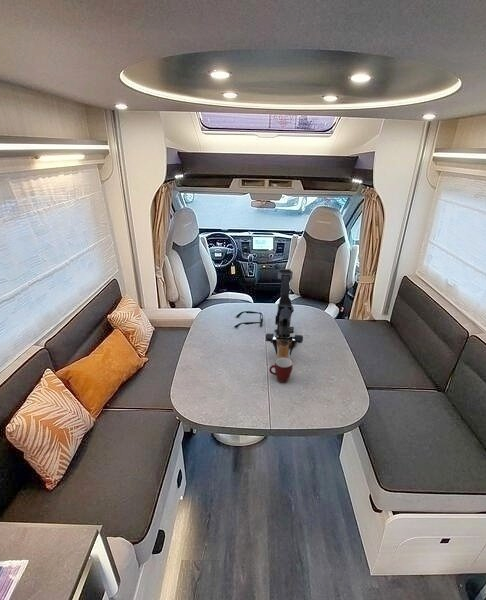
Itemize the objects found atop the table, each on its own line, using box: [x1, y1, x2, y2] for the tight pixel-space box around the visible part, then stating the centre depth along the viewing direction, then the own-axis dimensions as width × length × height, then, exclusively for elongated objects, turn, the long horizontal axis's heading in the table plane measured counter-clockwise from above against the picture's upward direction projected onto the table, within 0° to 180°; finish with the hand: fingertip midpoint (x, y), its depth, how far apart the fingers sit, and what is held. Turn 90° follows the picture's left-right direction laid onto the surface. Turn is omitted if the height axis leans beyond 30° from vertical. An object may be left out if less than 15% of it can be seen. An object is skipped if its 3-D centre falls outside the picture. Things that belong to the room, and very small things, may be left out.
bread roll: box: [277, 340, 297, 349], centre depth 178 cm, size 11×11×5 cm
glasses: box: [234, 310, 264, 329], centre depth 200 cm, size 17×18×5 cm
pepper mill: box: [277, 340, 290, 359], centre depth 157 cm, size 5×5×13 cm
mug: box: [268, 357, 293, 383], centre depth 146 cm, size 10×8×10 cm
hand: (283, 354), depth 156 cm, fingers open, 6 cm apart
